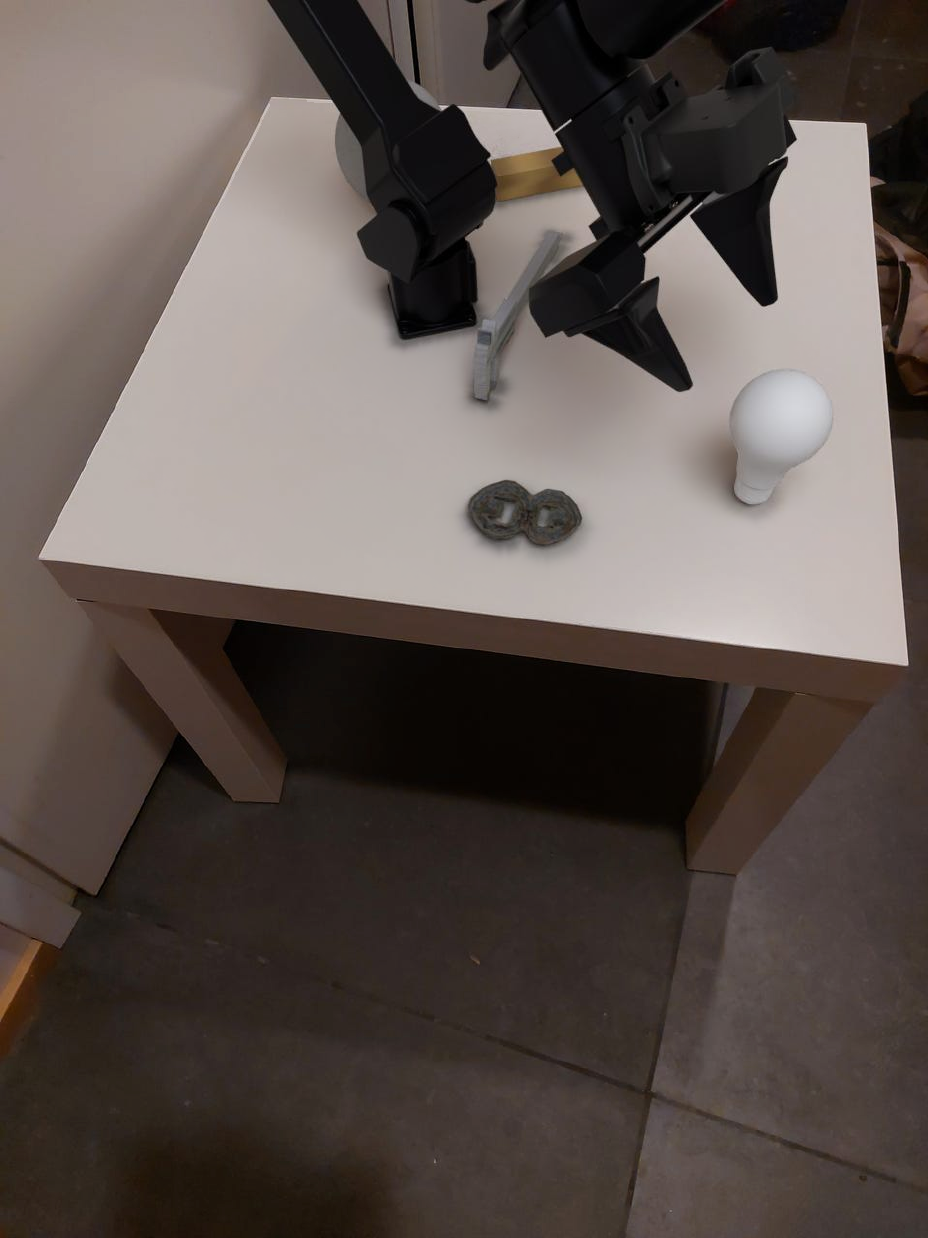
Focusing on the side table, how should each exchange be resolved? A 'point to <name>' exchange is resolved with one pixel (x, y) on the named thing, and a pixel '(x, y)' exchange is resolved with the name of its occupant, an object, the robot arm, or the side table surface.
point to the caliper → (508, 318)
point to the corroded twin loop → (524, 512)
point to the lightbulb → (777, 429)
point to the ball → (352, 151)
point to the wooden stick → (530, 175)
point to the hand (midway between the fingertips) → (729, 345)
